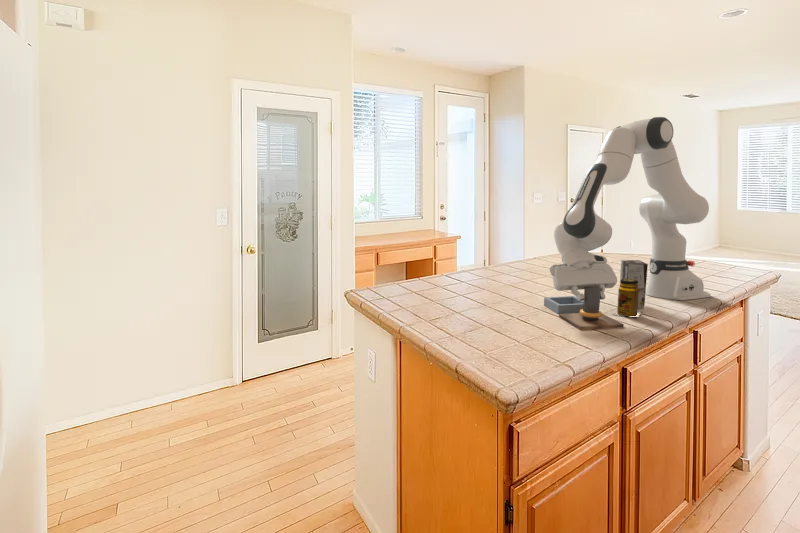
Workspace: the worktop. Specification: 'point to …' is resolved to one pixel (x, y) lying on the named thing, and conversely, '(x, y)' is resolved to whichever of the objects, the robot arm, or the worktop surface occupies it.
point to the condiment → (628, 297)
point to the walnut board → (590, 322)
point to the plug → (591, 304)
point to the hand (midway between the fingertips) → (592, 299)
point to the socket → (563, 304)
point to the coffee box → (636, 277)
